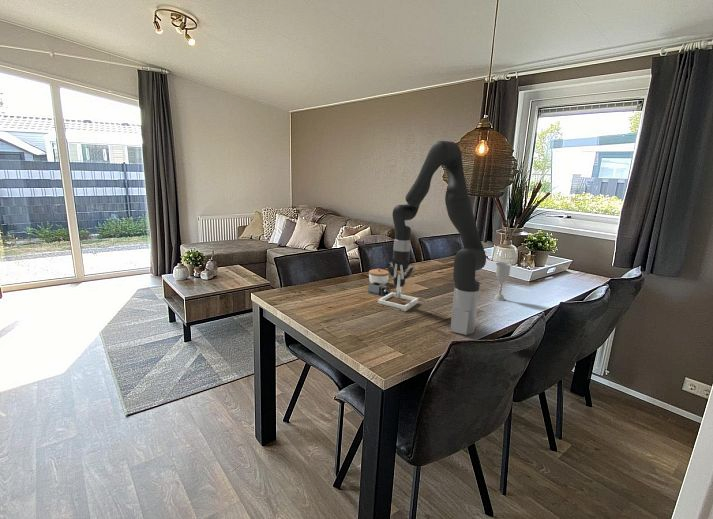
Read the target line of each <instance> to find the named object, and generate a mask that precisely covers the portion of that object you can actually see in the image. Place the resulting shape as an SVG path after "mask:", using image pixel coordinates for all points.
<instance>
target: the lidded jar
mask: <svg viewBox="0 0 713 519" xmlns="http://www.w3.org/2000/svg"><path fill="white" fill-rule="evenodd" d="M389 275H390V272H389V270H388V269H387V270H386V269H381V267H380V268H379V267H378V268H373V269H370V270H368V280H369V282H370V284H371V283H373V282H378V283H383V284H385V285H387V283H388V281H389Z"/></svg>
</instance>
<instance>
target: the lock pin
mask: <svg viewBox="0 0 713 519" xmlns="http://www.w3.org/2000/svg"><path fill="white" fill-rule="evenodd" d="M401 279H402V278H401V271H399V270H397V286H396V285H395V286H396V288H395V293H396V297H395V298H396V299H398V298H399V299H402V298H401V294H402V288H403V287H401V286H400V284H401Z"/></svg>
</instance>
